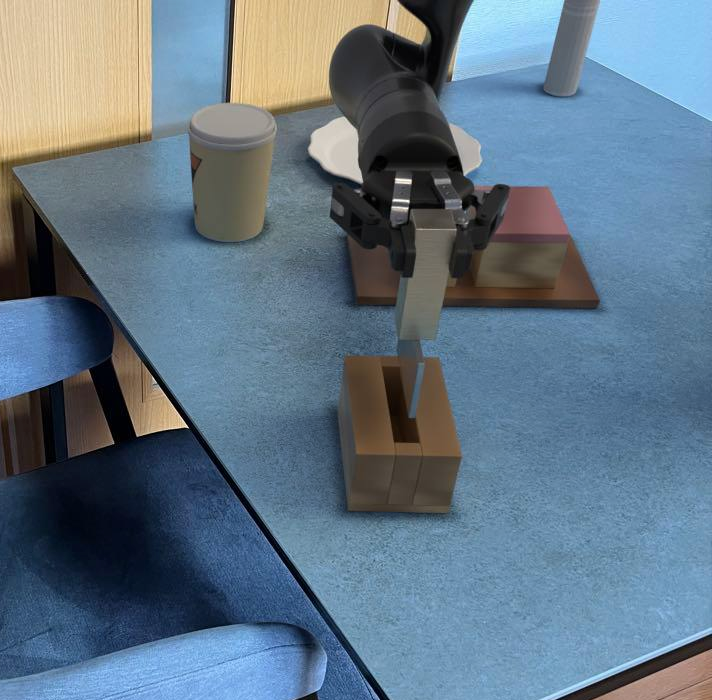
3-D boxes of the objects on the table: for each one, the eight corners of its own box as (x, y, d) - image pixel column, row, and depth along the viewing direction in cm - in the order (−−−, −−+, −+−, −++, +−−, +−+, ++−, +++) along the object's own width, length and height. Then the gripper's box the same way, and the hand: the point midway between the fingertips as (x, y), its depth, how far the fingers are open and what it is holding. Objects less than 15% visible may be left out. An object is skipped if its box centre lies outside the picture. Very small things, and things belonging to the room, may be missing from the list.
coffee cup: (201, 201, 120) (202, 97, 112) (279, 212, 118) (286, 106, 110) (177, 239, 114) (176, 132, 105) (259, 251, 112) (264, 143, 103)
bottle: (582, 92, 141) (626, -72, 127) (558, 99, 139) (600, -67, 125) (559, 82, 144) (600, -81, 129) (536, 88, 142) (574, -76, 128)
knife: (416, 350, 85) (444, 188, 75) (430, 418, 78) (463, 251, 68) (382, 350, 85) (406, 188, 75) (393, 418, 78) (421, 251, 68)
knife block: (427, 413, 92) (439, 356, 87) (448, 513, 82) (462, 456, 78) (337, 411, 92) (344, 355, 88) (347, 511, 83) (356, 453, 78)
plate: (481, 206, 118) (484, 192, 117) (300, 193, 121) (301, 179, 120) (476, 129, 133) (479, 116, 132) (314, 119, 136) (315, 107, 135)
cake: (566, 238, 113) (583, 177, 108) (597, 308, 103) (617, 245, 98) (346, 236, 114) (353, 175, 109) (356, 304, 104) (364, 241, 99)
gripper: (323, 109, 81) (337, 215, 69) (504, 109, 80) (551, 216, 68) (315, 199, 86) (327, 312, 74) (485, 199, 85) (525, 314, 73)
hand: (434, 265), depth 71 cm, fingers closed on knife, 3 cm apart
